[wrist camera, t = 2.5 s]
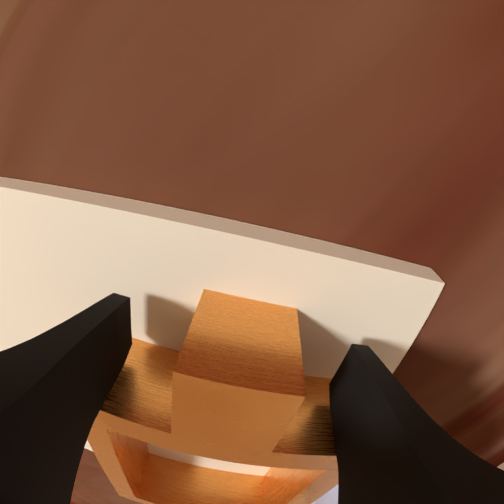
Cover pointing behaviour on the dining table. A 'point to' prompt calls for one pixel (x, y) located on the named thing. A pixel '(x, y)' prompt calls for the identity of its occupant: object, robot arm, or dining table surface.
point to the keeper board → (196, 278)
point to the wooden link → (220, 412)
